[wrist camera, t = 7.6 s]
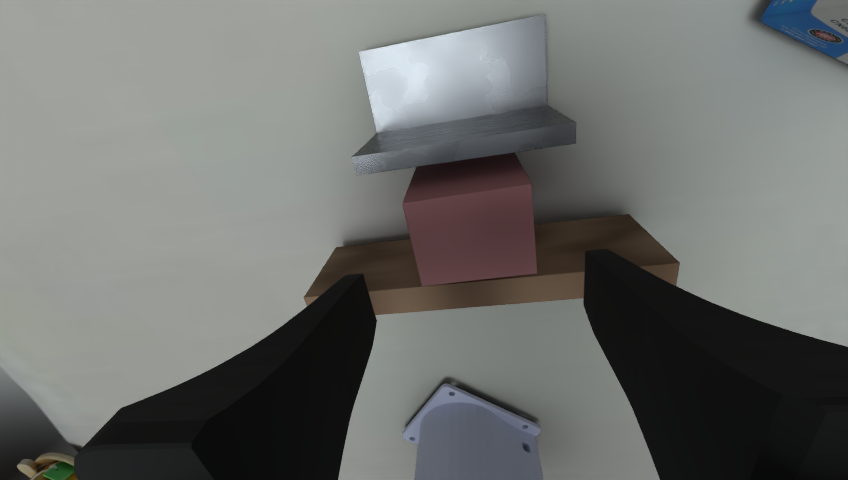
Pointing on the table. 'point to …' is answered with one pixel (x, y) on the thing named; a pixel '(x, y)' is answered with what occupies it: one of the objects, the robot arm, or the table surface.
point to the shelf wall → (555, 279)
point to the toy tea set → (49, 467)
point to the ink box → (812, 23)
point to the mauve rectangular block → (471, 220)
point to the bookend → (460, 97)
